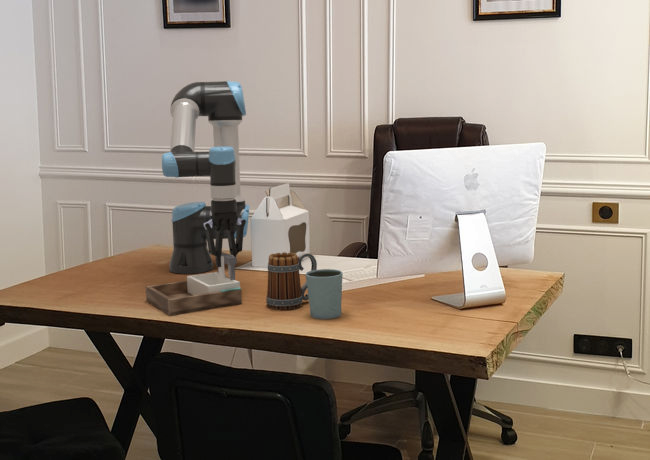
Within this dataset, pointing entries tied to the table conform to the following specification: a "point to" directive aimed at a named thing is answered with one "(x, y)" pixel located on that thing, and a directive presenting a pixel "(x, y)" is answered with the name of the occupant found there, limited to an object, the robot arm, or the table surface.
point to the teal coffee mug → (324, 293)
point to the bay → (189, 298)
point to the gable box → (279, 226)
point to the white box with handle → (213, 279)
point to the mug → (286, 281)
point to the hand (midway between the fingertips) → (226, 276)
